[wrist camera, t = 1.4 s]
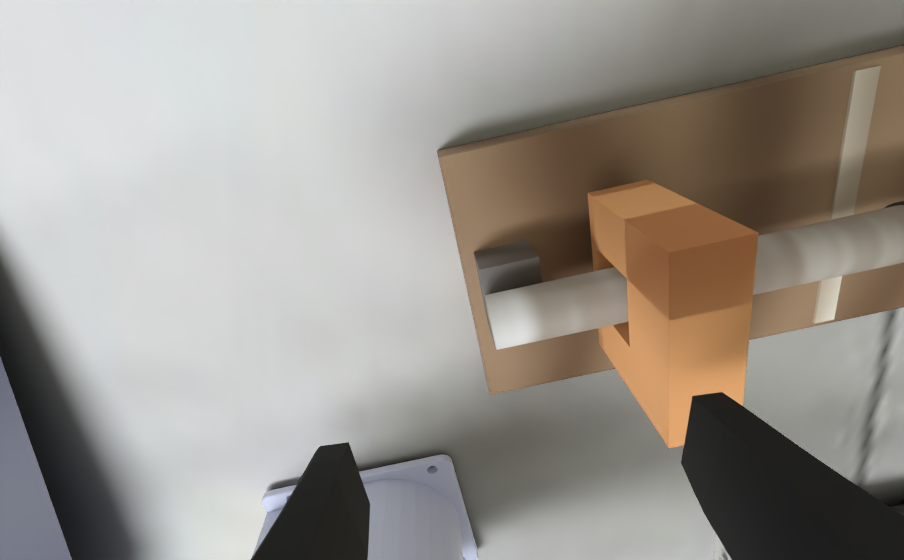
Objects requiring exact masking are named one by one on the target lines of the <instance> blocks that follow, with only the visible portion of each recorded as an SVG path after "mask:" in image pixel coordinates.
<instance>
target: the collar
mask: <svg viewBox="0 0 904 560" xmlns="http://www.w3.org/2000/svg"><path fill="white" fill-rule="evenodd" d="M587 194H588V206H589V219H590V232H591V244H592V257H593V270H594V271H598V270H603V269H607V268H612V267H615V268H616V269H617V270H618V271H619V272H620V273H621V274H622V275H623V276H624V277H625V278H626V279H627V296H628V319H629V322H625V323H620V324H615V325H611V326H606V327H601V328H598V333H599V344H600V345H601V347H602V349H603V350H604V352H605V353H606V355H607V356H608V358H609V359H610V361H611V362H612V364H613V365H614V367H615V368H616V370H617V371H618V373H619V374H620V376H621V377H622V379H623V380H624V382H625V383H626V385H627V386H628V388H629V389H630V391H631V392H632V394H633V395H634V397H635V398H636V400H637V401H638V403H639V404H640V406H641V407H642V409H643V410H644V412H645V413H646V415H647V416H648V418H649V419H650V421H651V422H652V424H653V425H654V427H655V428H656V430H657V431H658V433H659V434H660V436H661V437H662V439H663V440H664V442H665V443H666V445H667V446H668V448H673V447H678V446H683V445H684V443H685V437H686V431H687V425H688V419H689V413H690V407H691V401H692V396H696V395H703V394H711V393H718V392H723V393H724V394H726V395H727V396H729V397H730V398H732V399H733V400H734V401H736V402H737V403H739V404H740V405H742V406H743V398H744V387H745V376H746V366H747V355H748V344H749V333H750V322H751V311H752V300H753V289H754V279H755V268H756V257H757V246H758V235H759V233H758V232H756V231H754V230H752V229H750V228H748V227H746V226H744V225H741V224H739V223H737V222H735V221H733V220H731V219H729V218H727V217H725V216H723V215H721V214H718V213H716V212H714V211H712V210H710V209H708V208H706V207H704V206H702V205H700V204H698V203H696V202H693V201H691V200H689V199H687V198H685V197H683V196H681V195H679V194H677V193H675V192H673V191H670V190H668V189H666V188H664V187H662V186H660V185H658V184H656V183H654V182H652V181H650V180H644V181H640V182H635V183H631V184H626V185H621V186H617V187H612V188H608V189H603V190H599V191H594V192H590V193H587Z"/></svg>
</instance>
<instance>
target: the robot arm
mask: <svg viewBox="0 0 904 560" xmlns="http://www.w3.org/2000/svg"><path fill="white" fill-rule="evenodd" d="M681 463H682V466H683V468H684V470H685V472H686V475H687V477H688V479H689V482H690V484H691V486H692V488H693V491H694V493H695V495H696V497H697V499H698V501H699V503H700V505H701V507H702V510H703V512H704V514H705V515H706V517H707V519H708V520H709V522H710V524H711V526H712V527H713V529H714V531H715V532H716V534H717V536H718V537H719V539H720V541H721V543H722V544H723V546H724V548H725V549H726V551H727V553H728V554H729V556H730V558H731V559H732V560H904V516H903V515H902V514H900V513H898V512H897V511H895V510H894V509H892V508H890V507H889V506H887V505H886V504H884V503H883V502H881V501H879V500H878V499H876V498H875V497H873V496H872V495H870V494H869V493H867V492H866V491H864V490H862V489H861V488H859V487H858V486H856V485H855V484H853V483H852V482H850V481H849V480H847V479H846V478H844V477H843V476H841V475H840V474H838V473H837V472H835V471H834V470H833V469H831V468H830V467H828V466H827V465H825V464H824V463H822V462H821V461H819V460H818V459H816V458H815V457H814V456H812V455H811V454H809V453H808V452H806V451H805V450H803V449H802V448H801V447H799V446H798V445H796V444H795V443H794V442H792V441H791V440H789V439H788V438H786V437H785V436H784V435H782V434H781V433H779V432H778V431H777V430H775V429H774V428H772V427H771V426H770V425H768V424H767V423H765V422H764V421H763V420H761V419H760V418H758V417H757V416H756V415H754V414H753V413H751V412H750V411H749V410H747V409H746V408H744V407H743V406H742V405H740V404H739V403H737V402H736V401H734V400H733V399H732V398H730V397H729V396H727V395H726V394H724V393H723V392H718V393H711V394H703V395H696V396H692V401H691V407H690V413H689V419H688V425H687V431H686V437H685V443H684V449H683V455H682V461H681ZM430 466H435V467H430ZM262 505H263V506H264V508H265V510H266V512H267V515H266V518H265V521H264V524H263V527H262V530H261V533H260V536H259V539H258V542H257V545H256V548H255V550H254V553H253V556H252V559H251V560H477V558H478V550H477V546H476V543H475V539H474V536H473V532H472V529H471V525H470V522H469V518H468V515H467V511H466V508H465V504H464V501H463V497H462V494H461V490H460V487H459V483H458V480H457V476H456V473H455V469H454V466H453V462H452V459H451V458H450V457H449V456H448V455H444V454H443V455H436V456H431V457H427V458H422V459H417V460H412V461H407V462H403V463H398V464H393V465H388V466H384V467H379V468H374V469H369V470H365V471H360V472H359V471H358V468H357V465H356V462H355V459H354V457H353V454H352V451H351V448H350V445H349V442H348V443H341V444H334V445H326V446H320V447H319V448H318V449H317V451H316V452H315V454H314V456H313V457H312V459H311V461H310V463H309V464H308V466H307V468H306V470H305V471H304V473H303V475H302V477H301V478H300V480H299V482H298V484H297V485H293V486H288V487H283V488H279V489H274V490H270V491H267V492H266V493H265V494H264V496H263V499H262Z"/></svg>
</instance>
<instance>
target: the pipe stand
mask: <svg viewBox="0 0 904 560" xmlns="http://www.w3.org/2000/svg"><path fill="white" fill-rule="evenodd" d="M437 153H438V157H439V162H440V166H441V171H442V176H443V180H444V185H445V189H446V194H447V199H448V203H449V208H450V212H451V217H452V222H453V226H454V231H455V236H456V240H457V245H458V249H459V254H460V259H461V263H462V268H463V272H464V277H465V282H466V286H467V291H468V296H469V300H470V305H471V309H472V314H473V319H474V323H475V328H476V332H477V337H478V342H479V346H480V351H481V355H482V360H483V365H484V369H485V374H486V378H487V383H488V387H489V392H490V395H492V394H497V393H501V392H506V391H511V390H516V389H520V388H525V387H530V386H534V385H539V384H544V383H549V382H553V381H558V380H563V379H567V378H572V377H577V376H582V375H586V374H591V373H596V372H600V371H605V370H610V369H615V367H614V365H613V364H612V362H611V361H610V359H609V358H608V356H607V355H606V353H605V352H604V350H603V349H602V347H601V345H600V344H599V333H598V328H601V327H606V326H611V325H615V324H620V323H625V322H629V319H628V296H627V279H626V278H625V277H624V276H623V275H622V274H621V273H620V272H619V271H618V270H617V269H616V268H615V267H612V268H607V269H603V270H598V271H594V270H593V257H592V244H591V232H590V219H589V206H588V194H587V193H590V192H594V191H599V190H603V189H608V188H612V187H617V186H621V185H626V184H631V183H635V182H640V181H644V180H650V181H652V182H654V183H656V184H658V185H660V186H662V187H664V188H666V189H668V190H670V191H673V192H675V193H677V194H679V195H681V196H683V197H685V198H687V199H689V200H691V201H693V202H696V203H698V204H700V205H702V206H704V207H706V208H708V209H710V210H712V211H714V212H716V213H718V214H721V215H723V216H725V217H727V218H729V219H731V220H733V221H735V222H737V223H739V224H741V225H744V226H746V227H748V228H750V229H752V230H754V231H756V232H758V233H759V235H758V246H757V257H756V268H755V279H754V289H753V300H752V311H751V322H750V333H749V340H751V339H756V338H761V337H765V336H770V335H775V334H779V333H784V332H789V331H794V330H798V329H803V328H808V327H812V326H817V325H822V324H827V323H831V322H836V321H841V320H845V319H850V318H855V317H860V316H864V315H869V314H874V313H878V312H883V311H888V310H893V309H897V308H902V307H904V45H902V46H898V47H893V48H889V49H884V50H880V51H876V52H871V53H867V54H862V55H858V56H853V57H849V58H845V59H840V60H836V61H831V62H827V63H822V64H818V65H814V66H809V67H805V68H800V69H796V70H792V71H787V72H783V73H778V74H774V75H769V76H765V77H761V78H756V79H752V80H747V81H743V82H738V83H734V84H730V85H725V86H721V87H716V88H712V89H708V90H703V91H699V92H694V93H690V94H685V95H681V96H677V97H672V98H668V99H663V100H659V101H654V102H650V103H646V104H641V105H637V106H632V107H628V108H623V109H619V110H615V111H610V112H606V113H601V114H597V115H593V116H588V117H584V118H579V119H575V120H570V121H566V122H562V123H557V124H553V125H548V126H544V127H539V128H535V129H531V130H526V131H522V132H517V133H513V134H508V135H504V136H500V137H495V138H491V139H486V140H482V141H478V142H473V143H469V144H464V145H460V146H455V147H451V148H447V149H442V150H438V151H437Z"/></svg>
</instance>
